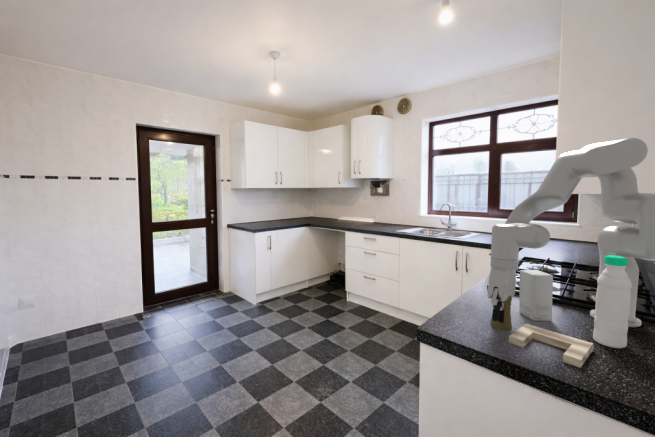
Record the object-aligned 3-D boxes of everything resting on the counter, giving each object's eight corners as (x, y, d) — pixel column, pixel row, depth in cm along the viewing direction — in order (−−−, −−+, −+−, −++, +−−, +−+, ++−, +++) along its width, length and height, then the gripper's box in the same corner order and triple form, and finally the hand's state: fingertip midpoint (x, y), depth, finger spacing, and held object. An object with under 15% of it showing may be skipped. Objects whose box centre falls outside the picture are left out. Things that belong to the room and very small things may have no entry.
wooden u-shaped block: (525, 329, 94) (525, 323, 94) (592, 350, 82) (593, 343, 82) (508, 342, 86) (509, 336, 86) (580, 367, 74) (581, 360, 74)
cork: (515, 330, 94) (517, 296, 93) (493, 329, 95) (495, 295, 94) (507, 322, 99) (509, 290, 99) (487, 321, 101) (489, 288, 100)
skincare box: (552, 321, 100) (555, 275, 99) (531, 321, 101) (534, 275, 99) (535, 311, 109) (538, 269, 107) (517, 311, 109) (519, 269, 108)
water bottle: (630, 352, 81) (638, 260, 79) (595, 345, 85) (602, 257, 83) (622, 341, 87) (629, 255, 85) (590, 335, 91) (596, 252, 89)
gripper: (502, 257, 104) (499, 309, 105) (479, 265, 93) (477, 322, 95) (527, 261, 98) (524, 316, 99) (506, 269, 87) (503, 331, 89)
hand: (501, 318), depth 97 cm, fingers closed on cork, 4 cm apart
